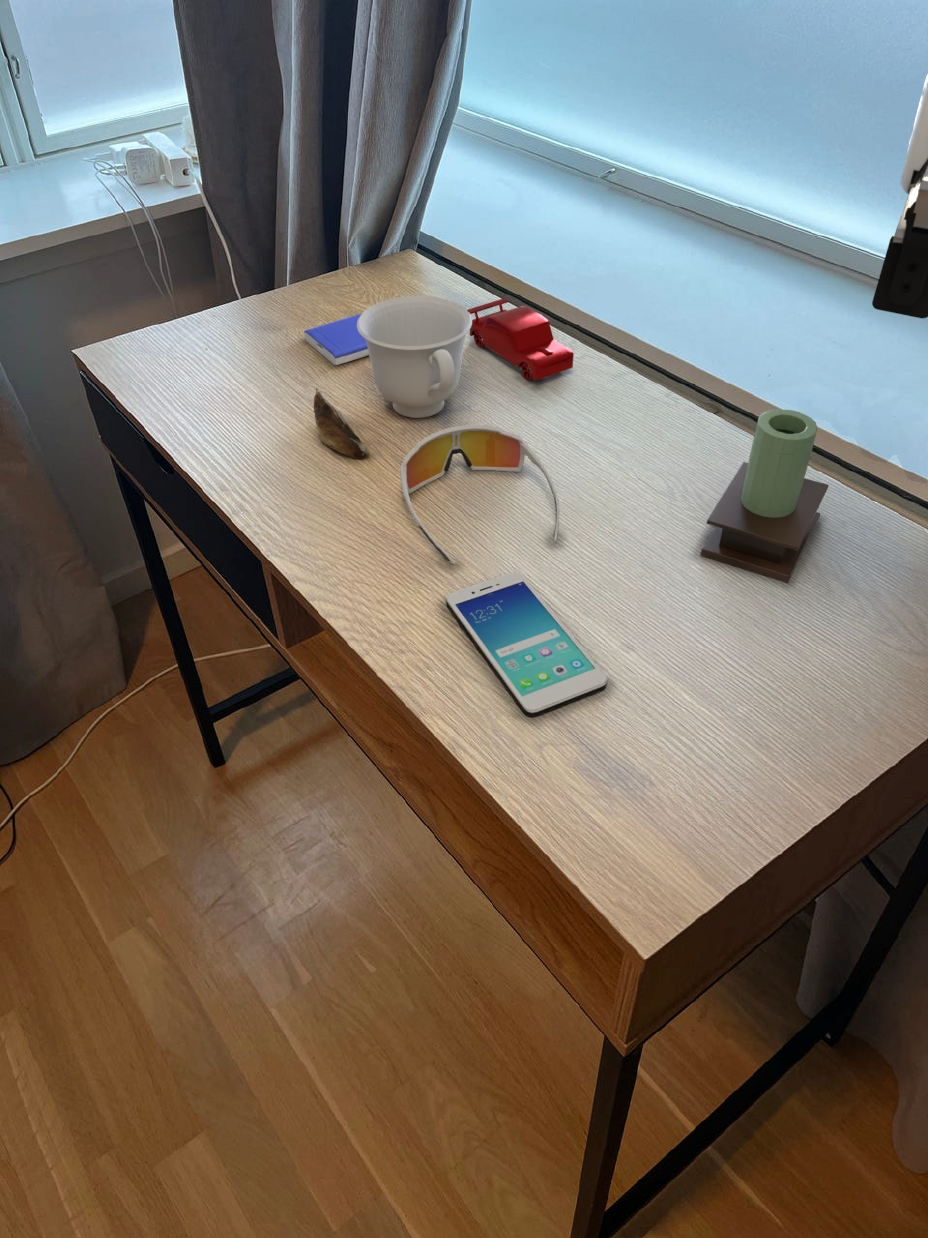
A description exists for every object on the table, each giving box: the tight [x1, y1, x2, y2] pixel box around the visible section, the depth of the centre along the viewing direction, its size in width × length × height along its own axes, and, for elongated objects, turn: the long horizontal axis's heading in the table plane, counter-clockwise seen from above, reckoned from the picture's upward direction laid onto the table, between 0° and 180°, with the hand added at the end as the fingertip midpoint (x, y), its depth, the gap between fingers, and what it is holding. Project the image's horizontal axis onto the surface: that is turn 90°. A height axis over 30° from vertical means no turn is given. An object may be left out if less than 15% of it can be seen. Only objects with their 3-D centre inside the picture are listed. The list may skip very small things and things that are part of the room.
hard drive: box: [303, 312, 369, 366], centre depth 118 cm, size 2×8×12 cm
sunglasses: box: [399, 424, 560, 565], centre depth 92 cm, size 14×15×5 cm
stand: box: [700, 461, 830, 584], centre depth 88 cm, size 8×10×4 cm
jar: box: [741, 408, 818, 518], centre depth 84 cm, size 5×5×8 cm
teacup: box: [357, 295, 473, 419], centre depth 103 cm, size 12×15×10 cm
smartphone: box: [445, 571, 608, 718], centre depth 79 cm, size 7×1×15 cm
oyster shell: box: [313, 387, 370, 459], centre depth 101 cm, size 6×4×10 cm
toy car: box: [466, 297, 575, 381], centre depth 113 cm, size 14×6×5 cm, turn 34°
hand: (916, 279), depth 59 cm, fingers open, 9 cm apart
